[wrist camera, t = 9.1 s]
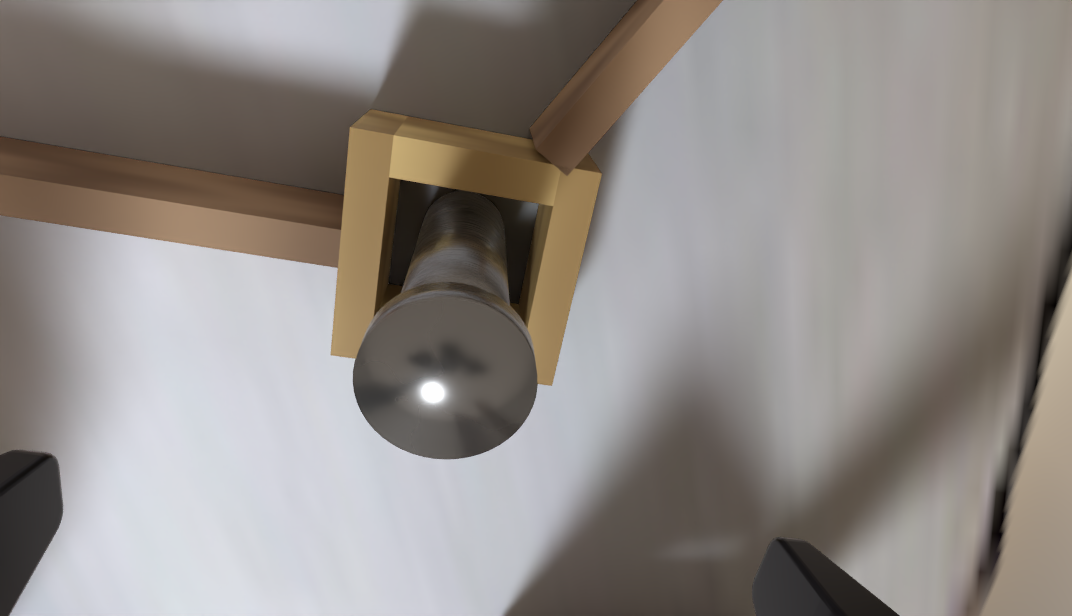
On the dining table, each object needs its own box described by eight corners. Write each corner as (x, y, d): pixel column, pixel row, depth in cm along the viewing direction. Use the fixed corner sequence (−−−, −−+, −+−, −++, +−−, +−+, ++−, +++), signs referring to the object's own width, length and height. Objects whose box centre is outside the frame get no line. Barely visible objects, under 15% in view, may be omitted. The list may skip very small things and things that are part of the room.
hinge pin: (402, 273, 20) (345, 447, 12) (415, 167, 19) (361, 286, 11) (507, 289, 21) (519, 468, 13) (527, 188, 19) (554, 315, 11)
